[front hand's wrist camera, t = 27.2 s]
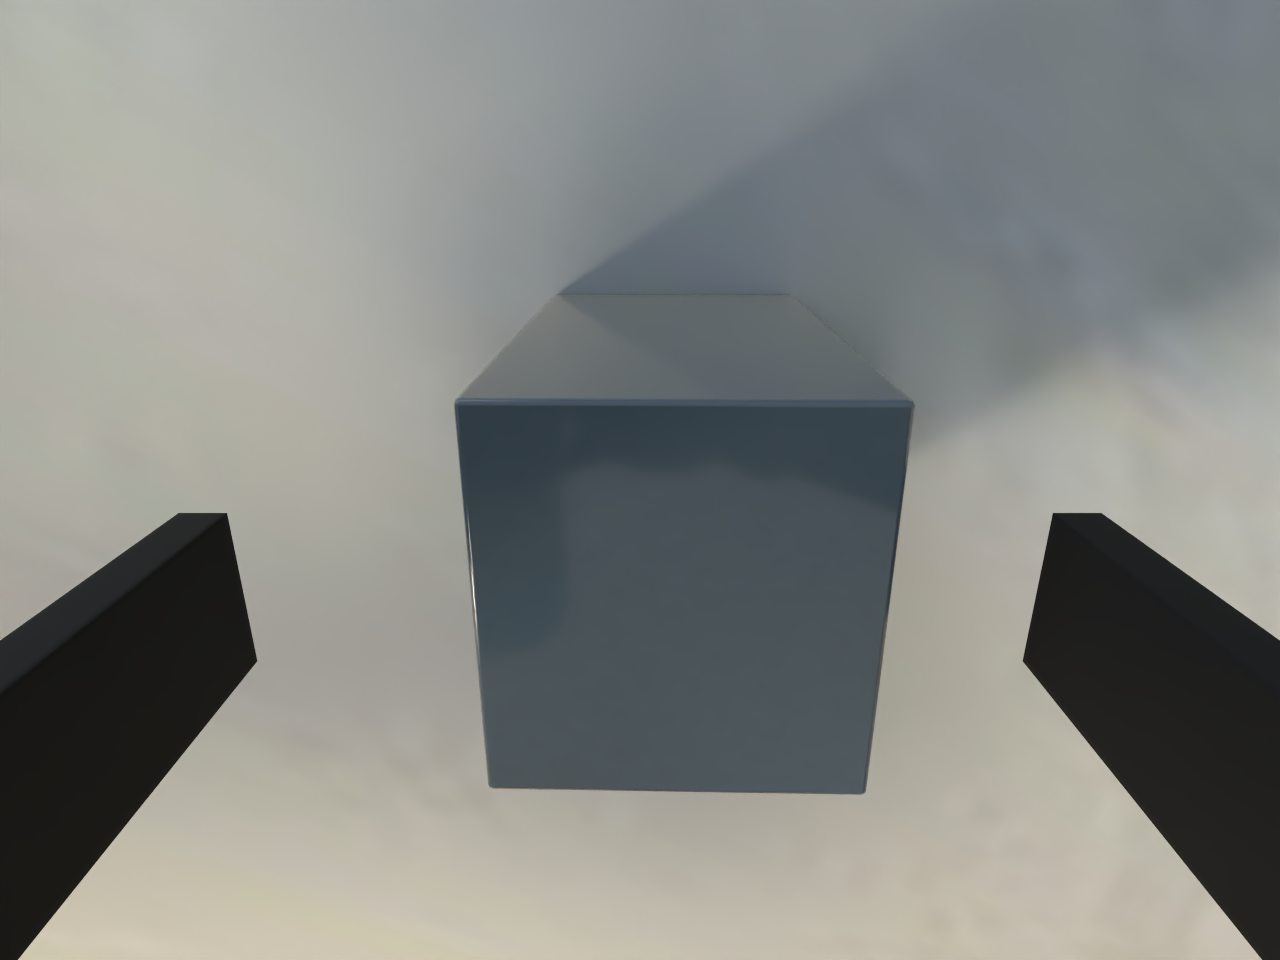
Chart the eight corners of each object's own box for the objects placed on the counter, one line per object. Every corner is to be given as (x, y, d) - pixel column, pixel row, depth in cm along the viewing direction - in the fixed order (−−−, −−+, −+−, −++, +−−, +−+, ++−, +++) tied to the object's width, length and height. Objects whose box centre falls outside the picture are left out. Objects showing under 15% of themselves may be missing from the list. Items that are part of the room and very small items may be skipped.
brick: (792, 294, 20) (917, 401, 10) (776, 528, 22) (867, 797, 12) (553, 294, 20) (451, 399, 10) (563, 526, 22) (487, 790, 13)
